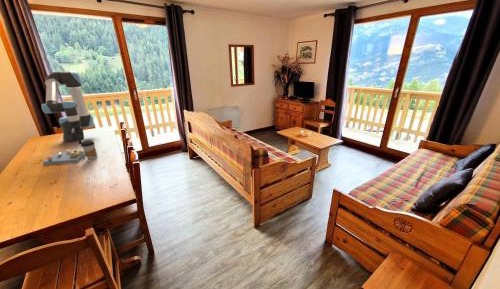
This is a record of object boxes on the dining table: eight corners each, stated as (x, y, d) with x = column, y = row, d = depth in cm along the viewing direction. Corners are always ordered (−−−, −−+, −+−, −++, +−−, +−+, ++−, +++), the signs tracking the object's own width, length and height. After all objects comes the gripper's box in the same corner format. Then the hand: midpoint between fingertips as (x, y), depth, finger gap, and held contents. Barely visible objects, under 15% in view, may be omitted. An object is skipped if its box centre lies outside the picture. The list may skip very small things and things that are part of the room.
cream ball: (68, 152, 175) (66, 149, 174) (72, 152, 175) (71, 148, 174) (65, 154, 172) (64, 150, 171) (69, 153, 172) (68, 150, 171)
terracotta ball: (49, 159, 163) (48, 155, 162) (54, 159, 163) (52, 155, 162) (46, 161, 160) (45, 157, 159) (51, 160, 161) (49, 157, 159)
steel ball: (59, 155, 169) (57, 152, 168) (63, 155, 169) (62, 151, 168) (56, 157, 166) (55, 153, 165) (60, 157, 166) (59, 153, 165)
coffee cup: (92, 161, 165) (86, 144, 159) (83, 160, 166) (77, 143, 160) (101, 157, 172) (96, 140, 166) (92, 156, 174) (87, 139, 168)
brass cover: (74, 154, 172) (73, 149, 170) (82, 153, 173) (81, 149, 171) (70, 157, 166) (68, 152, 165) (78, 156, 167) (76, 152, 166)
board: (58, 155, 175) (57, 152, 174) (89, 153, 179) (89, 150, 178) (43, 164, 160) (42, 161, 159) (78, 162, 163) (77, 159, 162)
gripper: (73, 118, 174) (82, 144, 183) (63, 122, 162) (73, 150, 171) (83, 118, 175) (91, 144, 184) (74, 122, 163) (83, 149, 172)
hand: (82, 147), depth 178 cm, fingers closed
